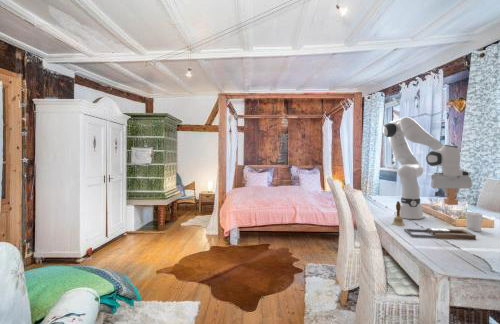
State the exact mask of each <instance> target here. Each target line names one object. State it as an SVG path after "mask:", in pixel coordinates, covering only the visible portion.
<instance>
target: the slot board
mask: <svg viewBox="0 0 500 324" xmlns="http://www.w3.org/2000/svg"><path fill="white" fill-rule="evenodd" d="M430 228H431V227H429V228H428V227H427V228H426V230H427V232H426V233H428V235H431V234H430ZM434 229H437V228H436V227H435V228H434ZM446 229H447V230H449V231H450V233H434V235H436V238H435V239H436V240H437V239H440V240H442V239H444V240H467V241H477V235H475V234H474V233H471V232H469V231H468V230H465V228H464V229H463V228H461V229H459V228H446Z"/></svg>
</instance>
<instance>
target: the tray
mask: <svg viewBox="0 0 500 324" xmlns="http://www.w3.org/2000/svg"><path fill="white" fill-rule="evenodd" d="M403 230H404V232H405V233H406V234H407V235H409V236H410V237H411V238H425V239H427V238H428V239H429V238H431V239H437V238H436V235H431V234H413V233H415V232H416V233H417V232H418V233H428V232H427V229H421V228H419V229H418V228H417V229H416V228H404V229H403Z"/></svg>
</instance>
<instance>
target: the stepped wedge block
mask: <svg viewBox="0 0 500 324" xmlns="http://www.w3.org/2000/svg"><path fill="white" fill-rule="evenodd" d="M455 191H456V190H455V189H447V190H446V192H447V193H449V196H446V198H445V197H444V198H443V202H444V203H443V204H444V205H448V206H459V199H457V198H456V196H455Z"/></svg>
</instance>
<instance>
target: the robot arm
mask: <svg viewBox="0 0 500 324" xmlns="http://www.w3.org/2000/svg"><path fill="white" fill-rule="evenodd" d="M381 128H382V129H381V131H382V134H383V135H384V136H385V137H386V138H388V141H389V145H390V147H391V150H392V153H393V154H394V157H395V159H396V160H397V161H398V162H399V163H400V166H399V167H398V169H397V174H398V175H397V176H398V177H399V179H400V184H401V197H400V206H401V208H400V217H401V218H402V219H405V220H407V219H409V220H421V219H424V218H426V216H425V215H424V213H423V212H424V211H423V210H424V209H423V206H422V205H421V198H420V196H421V195H420V189H421V188H420V185H419V183H418V178H419V177H421V176H422V175H423V173H424V167H423V166H422V165H421V164H420V162H419V161H418V159H417V158H416V157H415V155H414V153H413V151H412V149H411V147H410V145H409V142H411V143H413V144H420V145H424V146H427V147H428V148H430V149H432V150H431V151H429V152H428V153H427V154H426V157H425V161H426V163H427V164H428V165H429V166H430V167H431V166H432V167H441V172H434V173H432V174H431V175H430V178H431V180H430V181H431V183H430V187H431V188H432V189H436V190H437V189H438V190H439V189H442V191H443V193H444V197H447V196H449V193H447V189H455V197H458V194H459V192H460V190H461V189H464V190H465V189H472V187H473V182H472V181H473V180H472V177H471V172H470V171H467V170H463V169H461V164H460V163H461V150H460V148H459V146H458V145H455V144H454V145H453V144H443V143H442V142H441V141H439V139H437V138H436V136H433V135H432V134H431V133H429V132H428V131H427V130H426V129H424V128H423V127H422V126H421V125H420V124H419V123H418V122H417V121H416V120H415V119H414V118H412V117H409V116H404V117H401V118H399V119H394V120H392V121H389V122H387V123H383V125H382V127H381ZM408 141H409V142H408ZM395 210H396V211H394V214H395V217H397V209H395Z"/></svg>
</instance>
